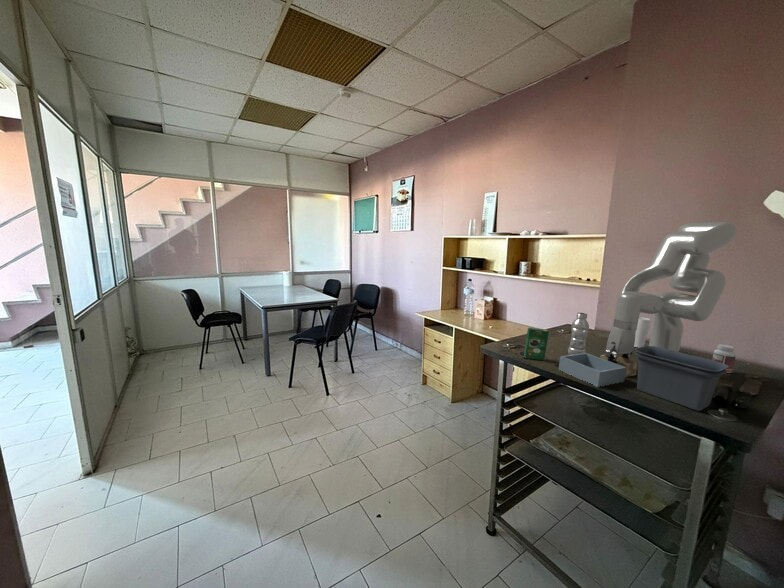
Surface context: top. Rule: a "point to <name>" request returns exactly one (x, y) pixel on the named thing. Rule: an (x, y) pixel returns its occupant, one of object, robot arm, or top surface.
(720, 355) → the pill bottle
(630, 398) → the top surface
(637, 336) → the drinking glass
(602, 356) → the wooden crate
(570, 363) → the grey crate
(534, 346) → the coffee box
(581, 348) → the plastic bottle
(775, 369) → the top surface
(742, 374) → the top surface
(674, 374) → the storage bin
